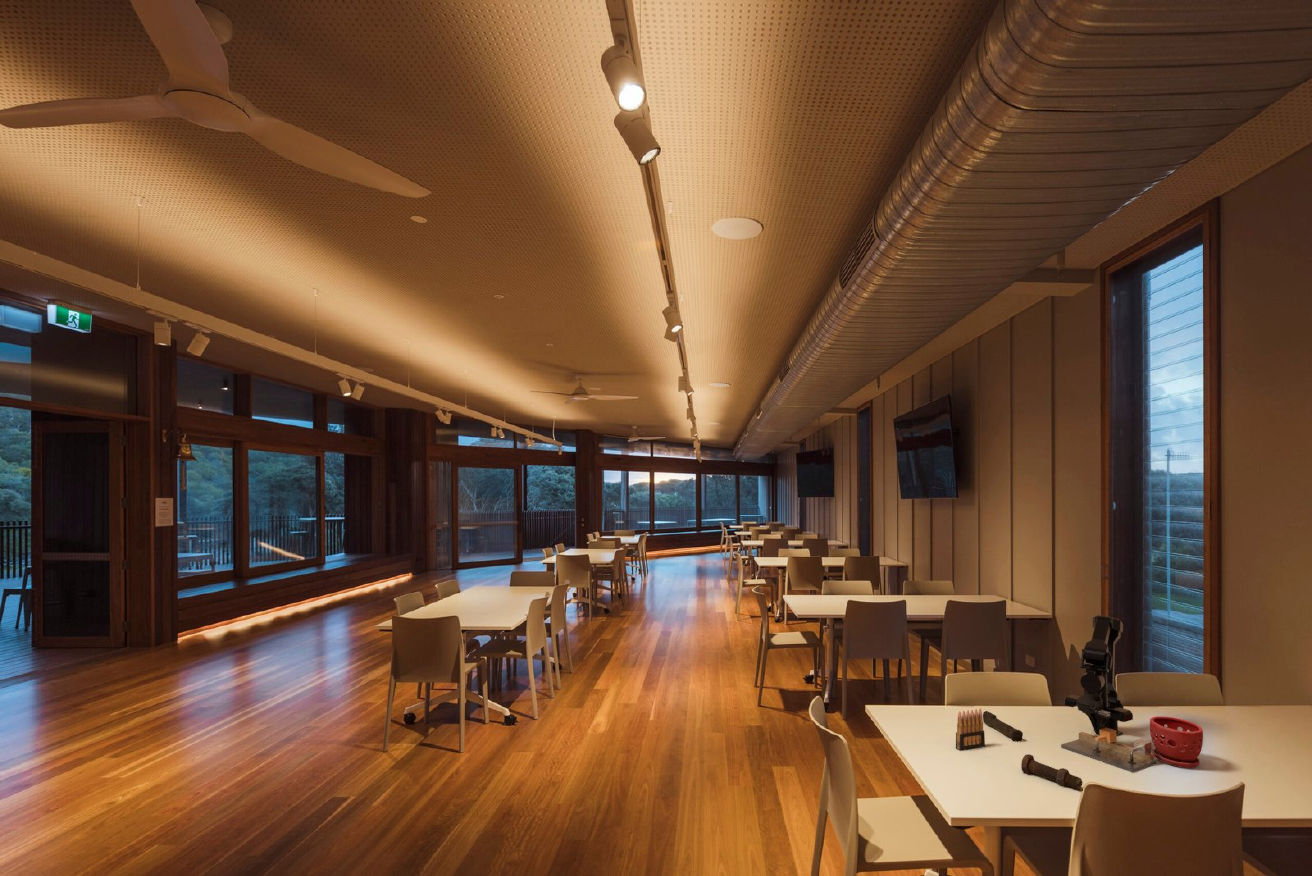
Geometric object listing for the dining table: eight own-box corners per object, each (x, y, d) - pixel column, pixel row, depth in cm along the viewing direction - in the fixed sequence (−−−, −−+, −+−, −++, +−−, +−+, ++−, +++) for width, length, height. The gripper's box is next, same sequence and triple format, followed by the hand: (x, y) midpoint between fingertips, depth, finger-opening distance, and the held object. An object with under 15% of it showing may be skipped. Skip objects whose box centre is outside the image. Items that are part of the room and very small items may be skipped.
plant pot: (1141, 757, 212) (1140, 718, 212) (1167, 751, 217) (1165, 713, 218) (1187, 774, 200) (1186, 733, 200) (1214, 767, 205) (1212, 727, 206)
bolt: (1079, 798, 187) (1023, 777, 199) (1086, 785, 189) (1031, 765, 202) (1074, 782, 185) (1019, 761, 198) (1081, 769, 188) (1026, 750, 200)
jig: (1085, 740, 225) (1084, 721, 226) (1156, 763, 207) (1155, 743, 207) (1061, 747, 218) (1060, 728, 219) (1132, 772, 200) (1131, 751, 201)
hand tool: (1023, 742, 223) (1023, 728, 223) (1012, 742, 223) (1012, 728, 223) (990, 722, 242) (990, 709, 242) (980, 722, 242) (980, 709, 242)
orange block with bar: (1106, 743, 219) (1106, 727, 219) (1116, 746, 216) (1116, 730, 217) (1091, 748, 215) (1091, 732, 215) (1101, 751, 212) (1101, 735, 212)
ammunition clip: (980, 744, 220) (979, 707, 221) (985, 746, 218) (984, 708, 219) (955, 748, 216) (955, 710, 217) (960, 751, 214) (959, 712, 215)
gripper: (1053, 681, 225) (1054, 729, 224) (1114, 697, 209) (1115, 749, 207) (1073, 677, 230) (1073, 724, 229) (1133, 692, 214) (1134, 743, 213)
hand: (1097, 734), depth 220 cm, fingers closed
